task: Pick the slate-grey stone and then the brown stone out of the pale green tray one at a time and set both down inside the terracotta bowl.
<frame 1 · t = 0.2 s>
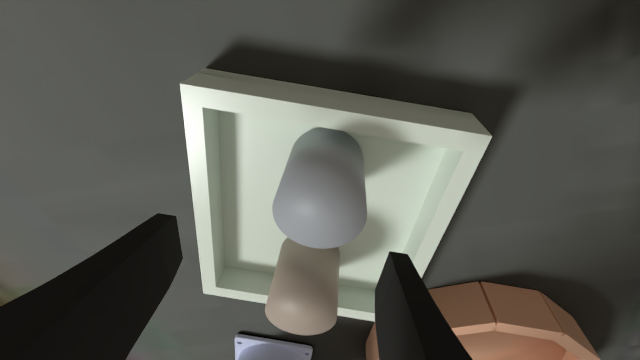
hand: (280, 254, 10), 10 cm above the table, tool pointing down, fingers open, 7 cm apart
bowl: (464, 345, 29), on the table
slate stone: (326, 161, 18), point 1 cm above the table, touching parts tray
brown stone: (310, 253, 23), point 1 cm above the table, touching parts tray
parts tray: (318, 203, 21), on the table
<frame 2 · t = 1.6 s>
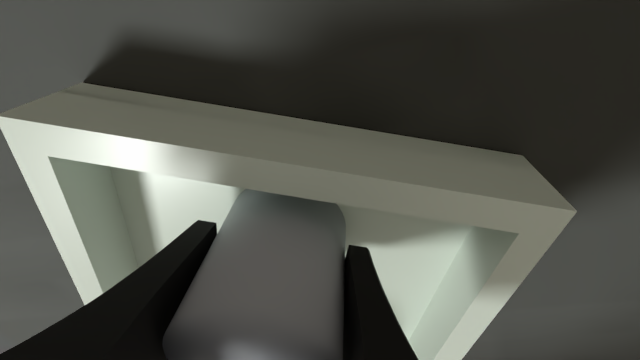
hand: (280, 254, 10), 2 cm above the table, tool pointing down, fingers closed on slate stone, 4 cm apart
slate stone: (287, 227, 12), point 1 cm above the table, touching gripper, parts tray
parts tray: (284, 274, 15), on the table
when the fingers open (4 cm above the table, at t = 5.7 s): slate stone drops 1 cm, resting on bowl.
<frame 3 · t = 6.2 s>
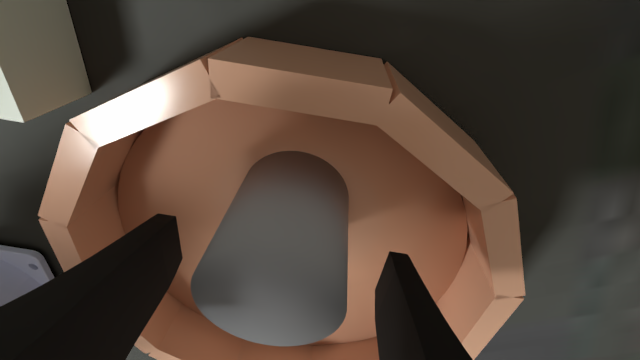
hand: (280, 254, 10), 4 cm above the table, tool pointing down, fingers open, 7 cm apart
bowl: (291, 237, 15), on the table
slate stone: (295, 197, 13), point 1 cm above the table, touching bowl
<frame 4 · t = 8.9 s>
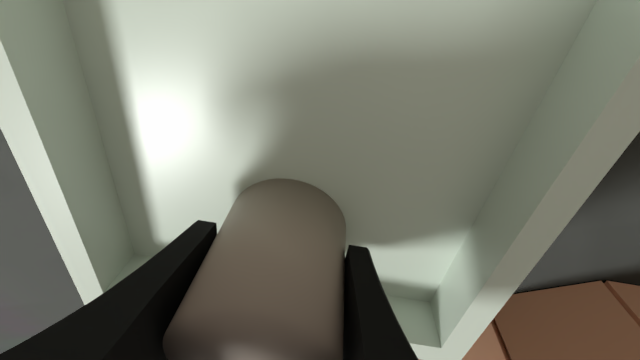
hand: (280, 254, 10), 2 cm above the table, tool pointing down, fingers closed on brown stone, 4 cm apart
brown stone: (287, 227, 12), point 1 cm above the table, touching gripper, parts tray
parts tray: (302, 119, 10), on the table
when the fingers open (4 cm above the table, at t = 13.0 s): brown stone drops 1 cm, resting on bowl.
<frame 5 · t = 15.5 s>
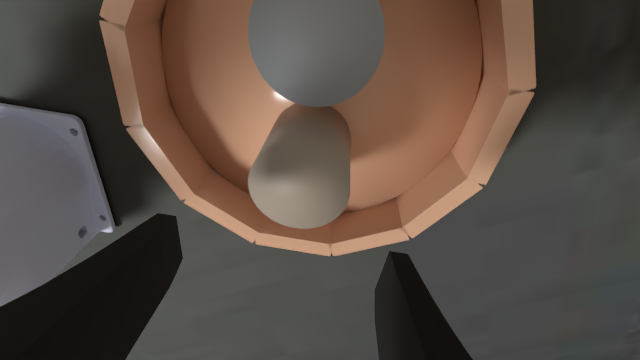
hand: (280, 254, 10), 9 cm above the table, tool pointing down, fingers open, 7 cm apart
bowl: (317, 87, 17), on the table
slate stone: (326, 23, 14), point 1 cm above the table, touching bowl
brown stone: (311, 139, 17), point 1 cm above the table, touching bowl
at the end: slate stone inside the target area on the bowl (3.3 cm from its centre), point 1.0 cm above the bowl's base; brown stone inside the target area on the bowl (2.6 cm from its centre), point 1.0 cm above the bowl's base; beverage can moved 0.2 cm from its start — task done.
